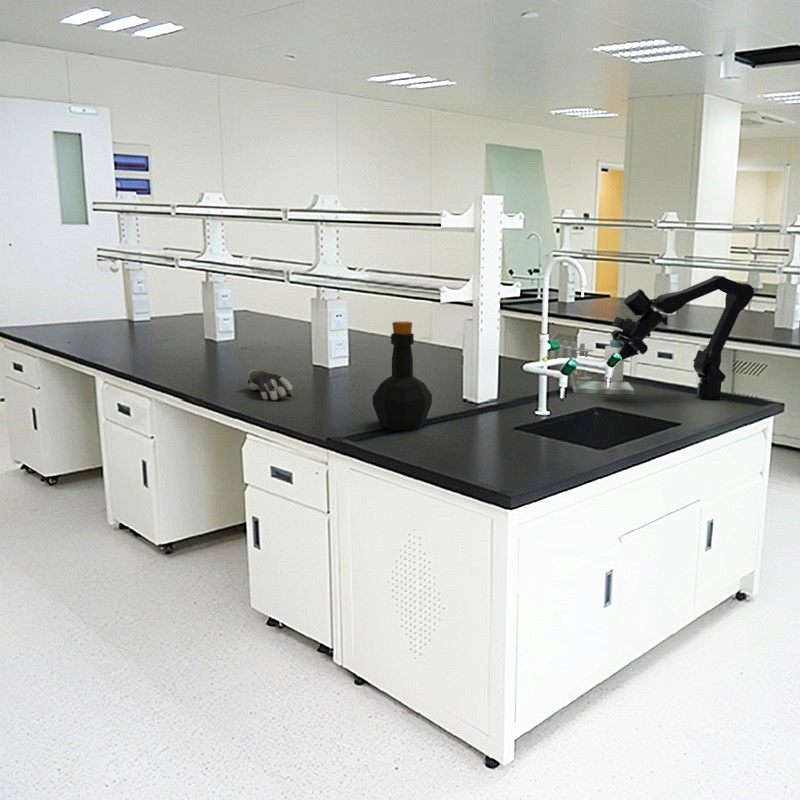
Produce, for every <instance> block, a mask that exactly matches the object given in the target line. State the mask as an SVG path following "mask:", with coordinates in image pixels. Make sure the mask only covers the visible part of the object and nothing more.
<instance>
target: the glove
mask: <svg viewBox="0 0 800 800" xmlns="http://www.w3.org/2000/svg"><path fill="white" fill-rule="evenodd" d="M247 375H248V376H247V377H248V379H247V387H248V389H249V390H250V389H251V391H252V390H259V392H260V395H261V398H262V399H268V400H269V397H270V399H271V400H272V401H277V400H279V396H280V397H281V398H285V397H287V396H290V395H293V396H294V392H293V391H294V386H293V385H292V384H291V382H290V381H289V380H288V379H287V378H286V377H283V376H280V375H278V374H275V373H269V372H267V371H263V370H260V369H258V370H257V369H251V370H250V371H248V374H247ZM268 393H269V395H268Z"/></svg>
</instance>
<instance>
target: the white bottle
mask: <svg viewBox="0 0 800 800" xmlns="http://www.w3.org/2000/svg"><path fill="white" fill-rule="evenodd" d="M609 341H610V342H609V345H605V347H604V349H605V350H604V362H605V361H606V360H607V359H608V358H609V357H610V356H611V355H612V354H613V353H619V351H620V350H621V349H622V348H623V346H620V340H613V339H610V340H609ZM624 363H625V359H624V360H621V361H620V362H619V363H618V364H617V365H616V366H615V368H614V372H613V376H612V377H611V379H610V381H609V382H624V381H623V379H624V366H625V365H624ZM603 380H604V382H608V381H607V379H606V377H605V375H604V374H603Z"/></svg>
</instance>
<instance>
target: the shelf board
mask: <svg viewBox="0 0 800 800" xmlns="http://www.w3.org/2000/svg"><path fill="white" fill-rule="evenodd" d="M570 378H571V379H570V386H571V388H572V391H573V393H574V394H596V395H597V394H598V395H600V394H603V395H605V394H607V395H635V389H634V388H633V386H632V385H631V384H630V382H628V381H620V382H611V381H610V382H611V383H610V387H609V389H608V388H607V385H606V382H607V381H589V380H588V381H587V380H579V379H578V378H579V371H578V370H577V369H576V371H574V372H573V373H572V375H571V377H570Z"/></svg>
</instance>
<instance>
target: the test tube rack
mask: <svg viewBox="0 0 800 800" xmlns="http://www.w3.org/2000/svg"><path fill="white" fill-rule="evenodd" d="M548 338H549V339H550V340H551V341H552V337H548ZM555 341H556V342H557V343H558V344H560V338H557V339H556V338H555V340H554V342H555ZM540 343H541V342H538V345H541V344H540ZM568 344H569V343H568V340H563V341H562V344H560V346H561V348H560V349H562V358H567V359H568V350H569V351H570V359H571V358H572V357H576V358H577V356H576V355H577V354H576V353H577V351H578V352H579V356H584V358H585V357H587V358H588V355H589V352H594V350H593V349H588V348H586V345H585V343H583V342H582V343H580V344H579V347H577V342H576V341H572V342H571V343H570V344H571V345H568ZM560 349H559V350H557V351H555V350H554V359H557V358H560ZM548 357H549V359H551V358H552V350H551V351H550V352H549V356H548ZM554 359H553V360H554ZM578 374H579V378H578V380H579V381H587V380H588V381H589V380H593V377H592V376H588V375H587V372H585V371H580V370H579V369H578ZM569 378H571V376H570V377H569Z"/></svg>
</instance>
